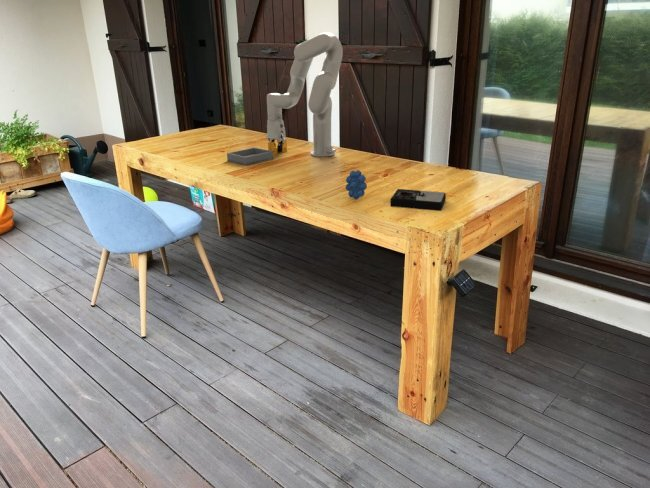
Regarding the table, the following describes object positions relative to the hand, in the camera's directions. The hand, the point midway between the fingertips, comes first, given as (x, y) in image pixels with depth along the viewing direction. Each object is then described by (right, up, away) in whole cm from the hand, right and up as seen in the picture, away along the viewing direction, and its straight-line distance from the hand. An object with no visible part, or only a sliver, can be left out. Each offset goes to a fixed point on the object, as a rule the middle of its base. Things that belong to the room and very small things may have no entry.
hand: (276, 151), depth 286 cm
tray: (-12, -7, -15) cm, 20 cm away
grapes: (+39, -32, -77) cm, 92 cm away
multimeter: (+62, -35, -83) cm, 109 cm away
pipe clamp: (0, -1, 0) cm, 1 cm away
